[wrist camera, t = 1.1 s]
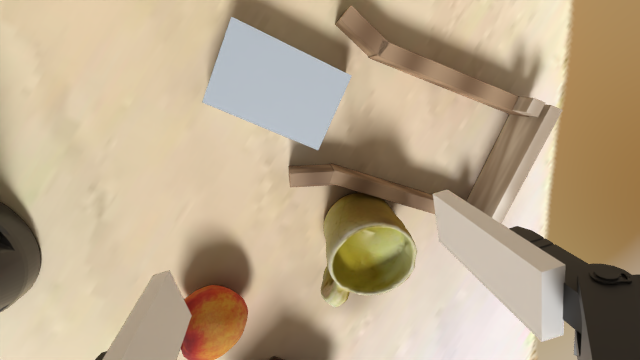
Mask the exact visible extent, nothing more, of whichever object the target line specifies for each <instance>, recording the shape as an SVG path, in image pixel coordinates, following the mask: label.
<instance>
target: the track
mask: <svg viewBox="0 0 640 360" xmlns="http://www.w3.org/2000/svg"><path fill="white" fill-rule="evenodd" d="M335 25H336V26H337V27H338V28H339V29H341V30H342V31H343V32H344V33H345V34H346V35H347V36H348V37H349V38H350V39H351V40H352V41H353V42H354V43H355V44H356V45H357V46H358V47H360V48H361V49H362V50H363V51H364V52H365V53H366V54H367V55H368V56H369V57H368V58H370V59H373V60H375V61H378V62H380V63H383V64H385V65H388V66H390V67H393V68H395V69H398V70H400V71H403V72H405V73H408V74H410V75H413V76H415V77H418V78H420V79H423V80H425V81H428V82H430V83H433V84H436V85H438V86H441V87H443V88H446V89H448V90H451V91H453V92H456V93H458V94H461V95H463V96H466V97H468V98H471V99H473V100H476V101H478V102H481V103H483V104H486V105H488V106H491V107H493V108H496V109H498V110H501V111H503V112H506V113H508V114H510V115H509V117H508V119H507V121H506V123H505V125H504V127H503V129H502V131H501V133H500V135H499V137H498V139H497V141H496V143H495V145H494V147H493V149H492V151H491V153H490V155H489V157H488V159H487V161H486V163H485V165H484V167H483V169H482V171H481V173H480V175H479V177H478V179H477V181H476V183H475V185H474V187H473V189H472V191H471V193H470V195H469V197H468V199H467V201H466V202H468V203H469V204H471V205H472V206H474V207H476V208H477V209H479V210H480V211H482V212H483V213H485V214H487V215H488V216H490V217H491V218H493V219H494V220H496V221H498V222H499V223H502V221H503V219H504V218H505V216H506V214H507V212H508V210H509V208H510V206H511V205H512V203H513V201H514V199H515V197H516V195H517V193H518V192H519V190H520V188H521V186H522V184H523V182H524V180H525V179H526V177H527V175H528V173H529V171H530V169H531V167H532V166H533V164H534V162H535V160H536V158H537V156H538V155H539V153H540V151H541V149H542V147H543V145H544V143H545V142H546V140H547V138H548V136H549V134H550V132H551V130H552V129H553V127H554V125H555V123H556V121H557V119H558V117H559V116H560V114H561V112H562V110H561V109H559V108H557V107H554V106H552V105H545V102H542V101H540V100H538V99H535V98H529V97H519V96H516V95H514V94H511V93H509V92H507V91H504V90H502V89H499V88H497V87H495V86H492V85H490V84H487V83H485V82H483V81H480V80H478V79H475V78H473V77H471V76H468V75H466V74H463V73H461V72H459V71H456V70H454V69H452V68H449V67H447V66H444V65H442V64H440V63H437V62H435V61H432V60H430V59H428V58H425V57H423V56H420V55H418V54H416V53H413V52H411V51H408V50H406V49H404V48H401V47H399V46H396V45H394V44H392V43H389V42H388V41H387V40H386V39H385V38H384V37H383V36H382V35H381V34H380V33H379V32H378V31H377V30H376V29H375V28H374V27H373V26H372V25H371V24H370V23H369V22H368V21H367V20H366V19H365V18H364V17H363V16H362V15H361V14H360V13H359V12H358V11H357V10H356V9H355V8H354V7H353V6H352V5H351V6H350V7H349V8H348V9H347V10H346V11H345V12H344V13H343V14H342V16H341V17H340V18H339V20H338V21H337V22H336V24H335ZM289 181H290V187H305V186H324V185H338V186H341V187H345V188H348V189H351V190H355V191H358V192H362V193H365V194H368V195H372V196H375V197H378V198H382V199H385V200H389V201H392V202H395V203H399V204H402V205H406V206H409V207H412V208H416V209H419V210H423V211H426V212H429V213H433V214H435V207H434V200H433V195H432V194H428V193H425V192H422V191H419V190H415V189H412V188H409V187H406V186H403V185H399V184H396V183H393V182H390V181H386V180H383V179H380V178H377V177H373V176H370V175H367V174H364V173H361V172H357V171H354V170H351V169H348V168H344V167H341V166H338V165H335V164H332V163H330V164H324V165H302V166H289Z"/></svg>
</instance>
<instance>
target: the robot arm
mask: <svg viewBox="0 0 640 360" xmlns="http://www.w3.org/2000/svg"><path fill="white" fill-rule="evenodd" d="M433 200H434V207H435V215H436V222H437V230H438V238H439V242H440V243H441V244H442V245H444V246H445V247H446V248H447V249H448V250H449V251H450V252H451V253H452V254H453V255H454V256H455V257H456V258H457V259H458V260H459V261H460V262H461V263H462V264H463V265H464V266H465V267H466V268H467V269H468V270H469V271H470V272H471V273H472V274H473V275H474V276H475V277H476V278H477V279H478V280H479V281H480V282H481V283H482V284H483V285H484V286H485V287H486V288H487V289H488V290H489V291H490V292H491V293H492V294H493V295H494V296H495V297H497V298H498V299H499V300H500V301H501V302H502V303H503V304H504V305H505V306H506V307H507V308H508V309H509V310H510V311H511V312H512V313H513V314H514V315H515V316H516V317H517V318H518V319H519V320H520V321H521V322H522V323H523V324H524V325H525V326H526V327H527V328H528V329H529V330H530V331H531V332H532V333H533V334H534V335H535V336H536V337H537V338H538V339H539V340H540V341H541V342H543V341H546V340H549V339H552V338H555V337H558V336H561V335H563V334H564V321H566V322H567V323H568V324H569V325H570V326H572V327H573V328H574V329H575V344H574V355H576V356H577V359H578V360H640V275H631V274H629V273H628V272H626V271H625V270H623V269H620V268H617V267H615V266H611V265H606V264H588V263H586V262H584V261H583V260H581V259H579V258H577V257H576V256H574V255H572V254H571V253H569V252H567V251H566V250H564V249H562V248H560V247H559V246H557V245H554V244H553V243H552V242H550V241H549V240H547V239H544V238H543V237H542V236H540V235H538V234H537V233H535V232H533V231H531V230H528V229H525V228H522V227H518V226H516V227H513V228H509V229H508V228H507V227H505V226H504V225H502V224H501V223H499V222H498V221H496V220H494V219H493V218H491V217H490V216H488V215H487V214H485V213H483V212H482V211H480V210H479V209H477V208H476V207H474V206H472V205H471V204H469V203H468V202H466V201H465V200H463V199H462V198H460V197H458V196H457V195H455V194H454V193H452V192H451V191H449V190H443V191H440V192H437V193H433ZM40 262H41V261H40V252H39V247H38V244H37V242H36V239H35V237H34V235H33V234H32V232H31V230H30V229H29V228H28V226H27V225H26V224H25V222H24V221H23V220H22V219H21V218H20V217H19V216H18V215H17V214H16V213H15V212H13V211H12V210H11V209H10V208H8V207H7V206H6V205H4V204H3V203H1V202H0V312H2V311H4V310H5V309H7V308H8V307H10V306H11V305H12V304H13V303H15V302H16V301H17V300H18V299H19V298H20V297H22V296H23V295H24V294H25V293H26V292H27V291H28V290H29V289H30V288H31V287H32V286H33V284H34V283H35V281H36V279H37V277H38V274H39V270H40ZM191 316H192V315H191V313H190V311H189V309H188V307H187V305H186V303H185V301H184V299H183V297H182V295H181V293H180V290H179V288H178V286H177V284H176V282H175V280H174V278H173V276H172V274H171V272H170V270H169V271H166V272H162V273H159V274H155V275H153V277H152V278H151V280H150V282H149V283H148V285H147V287H146V288H145V290H144V292H143V293H142V295H141V296H140V298H139V300H138V301H137V303H136V305H135V306H134V308H133V310H132V311H131V313H130V315H129V316H128V318H127V320H126V321H125V323H124V325H123V326H122V328H121V330H120V331H119V333H118V335H117V336H116V338H115V340H114V341H113V343H112V344H111V346H110V348H109V349H108V351H106V352H103V353H101V354H100V355H99V356H98V357H97V358H96V359H95V360H177V357H178V354H179V351H180V348H181V345H182V342H183V339H184V337H185V334H186V331H187V328H188V325H189V322H190V319H191Z"/></svg>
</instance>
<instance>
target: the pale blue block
mask: <svg viewBox="0 0 640 360" xmlns="http://www.w3.org/2000/svg"><path fill="white" fill-rule="evenodd" d="M350 78H351V75H349V74H347V73H345V72H343V71H341V70H339V69H337V68H335V67H333V66H331V65H329V64H327V63H325V62H323V61H321V60H319V59H317V58H315V57H313V56H310V55H308V54H306V53H304V52H302V51H300V50H298V49H296V48H294V47H292V46H290V45H288V44H286V43H284V42H282V41H280V40H278V39H276V38H274V37H272V36H270V35H268V34H266V33H264V32H262V31H260V30H258V29H256V28H254V27H252V26H250V25H248V24H245V23H243V22H241V21H239V20H237V19H235V18H233V17H231V19H230V22H229V25H228V28H227V31H226V34H225V37H224V40H223V43H222V46H221V48H220V51H219V54H218V57H217V60H216V63H215V66H214V69H213V72H212V75H211V78H210V81H209V84H208V87H207V90H206V93H205V96H204V98H203V101H202V102H203V103H205V104H207V105H210V106H212V107H215V108H217V109H219V110H222V111H224V112H227V113H229V114H231V115H234V116H236V117H239V118H241V119H244V120H246V121H248V122H251V123H253V124H256V125H258V126H260V127H263V128H265V129H268V130H270V131H272V132H275V133H277V134H280V135H282V136H284V137H287V138H289V139H292V140H294V141H296V142H299V143H301V144H304V145H306V146H309V147H311V148H313V149H316V150H319V148H320V145H321V143H322V141H323V139H324V136H325V134H326V132H327V130H328V128H329V125H330V123H331V121H332V119H333V116H334V114H335V112H336V110H337V107H338V105H339V103H340V101H341V99H342V96H343V94H344V92H345V90H346V87H347V85H348V83H349V81H350Z"/></svg>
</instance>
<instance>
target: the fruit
mask: <svg viewBox="0 0 640 360" xmlns="http://www.w3.org/2000/svg"><path fill="white" fill-rule="evenodd" d="M184 301H185V303H186V305H187V307H188V309H189V311H190V313H191V315H192V316H191V319H190V322H189V325H188V328H187V331H186V334H185V337H184V339H183V342H182V345H181V350H182V354H183V356H184V357H185V358H187V359H188V360H214V359H217V358H219V357H220V356H222V355H223V354H225V353H226V352H227V351H228V350H229V349H231V348H232V347H233V346H234V345H235V344H236V343H237V341H238V340H239V339H240V337H241V335H242V333H243V331H244V328H245V325H246V321H247V316H248V309H247V306H246V303H245V301H244V299H243V298H242V297H241V296H240V295H238V294H237V293H236V292H234V291H232V290H231V289H229V288H226V287H223V286H219V285H209V286H206V287H203V288H200V289H198V290H196V291H195V292H193V293H192V294H191V295H189V296H188V297H186V298H185V299H184Z"/></svg>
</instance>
